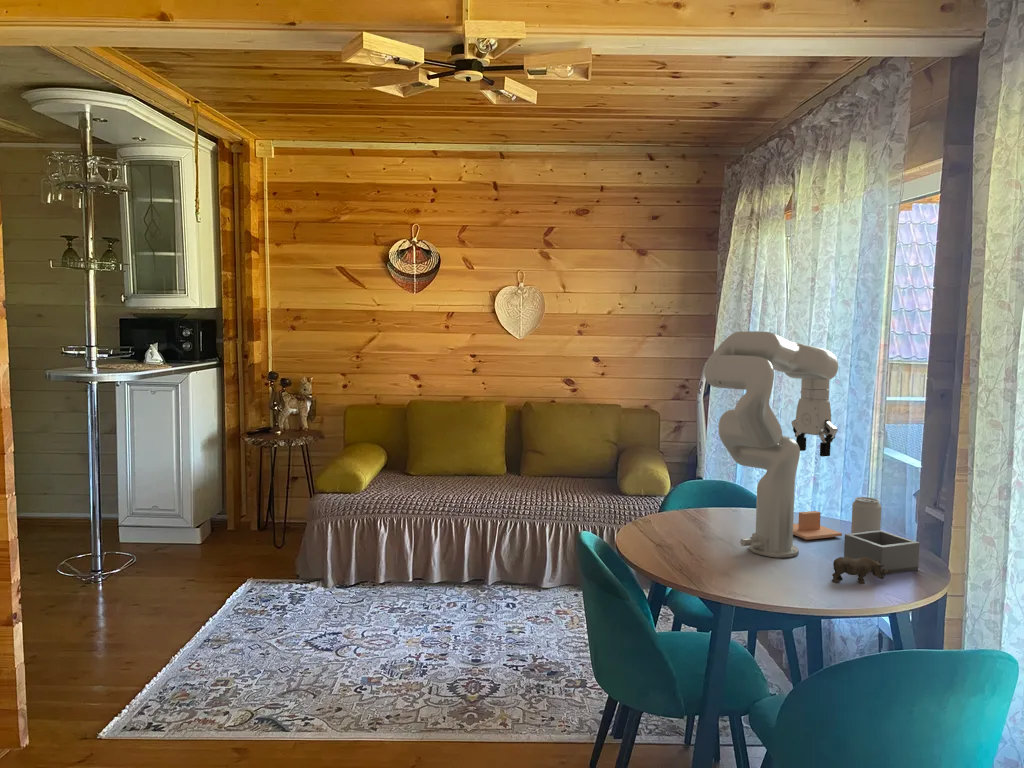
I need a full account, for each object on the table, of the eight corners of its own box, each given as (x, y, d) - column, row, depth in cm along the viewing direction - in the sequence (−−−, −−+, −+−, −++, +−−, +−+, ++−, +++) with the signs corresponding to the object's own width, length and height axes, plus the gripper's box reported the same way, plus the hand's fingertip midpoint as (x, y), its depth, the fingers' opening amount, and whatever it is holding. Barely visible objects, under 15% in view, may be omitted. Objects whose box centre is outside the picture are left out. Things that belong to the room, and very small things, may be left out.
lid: (806, 542, 206) (806, 519, 205) (777, 531, 217) (778, 508, 217) (841, 539, 209) (842, 516, 209) (811, 528, 221) (812, 505, 221)
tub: (881, 575, 178) (882, 547, 178) (843, 560, 189) (844, 534, 189) (918, 570, 182) (919, 542, 182) (879, 555, 193) (880, 530, 193)
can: (877, 545, 203) (878, 503, 202) (848, 540, 207) (849, 499, 206) (882, 539, 209) (884, 498, 208) (854, 534, 213) (855, 494, 212)
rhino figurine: (894, 585, 171) (895, 560, 171) (833, 584, 172) (834, 559, 172) (886, 579, 175) (887, 555, 175) (827, 578, 176) (828, 553, 176)
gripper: (783, 392, 218) (781, 449, 219) (826, 398, 202) (824, 459, 203) (804, 392, 221) (802, 448, 222) (847, 397, 204) (845, 457, 206)
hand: (812, 453), depth 212 cm, fingers open, 9 cm apart
